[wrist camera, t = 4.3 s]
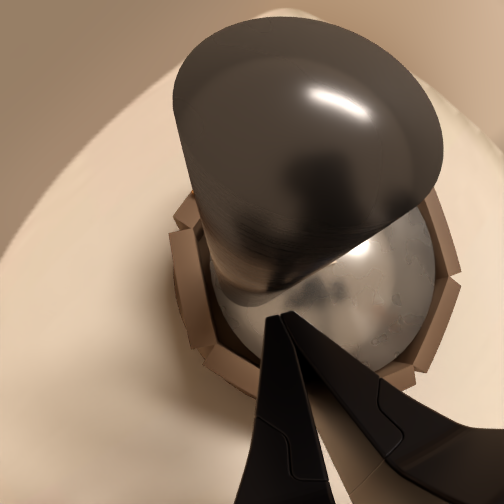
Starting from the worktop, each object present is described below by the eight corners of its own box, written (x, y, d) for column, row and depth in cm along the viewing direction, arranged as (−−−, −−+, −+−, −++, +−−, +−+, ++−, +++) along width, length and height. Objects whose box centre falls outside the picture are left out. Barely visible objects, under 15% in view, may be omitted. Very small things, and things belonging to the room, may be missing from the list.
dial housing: (450, 354, 17) (485, 355, 14) (212, 435, 15) (208, 461, 12) (384, 138, 21) (406, 110, 17) (158, 170, 19) (145, 138, 15)
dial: (435, 336, 16) (634, 316, 3) (241, 401, 15) (282, 627, 1) (380, 155, 19) (497, 5, 5) (194, 182, 17) (148, -54, 4)
